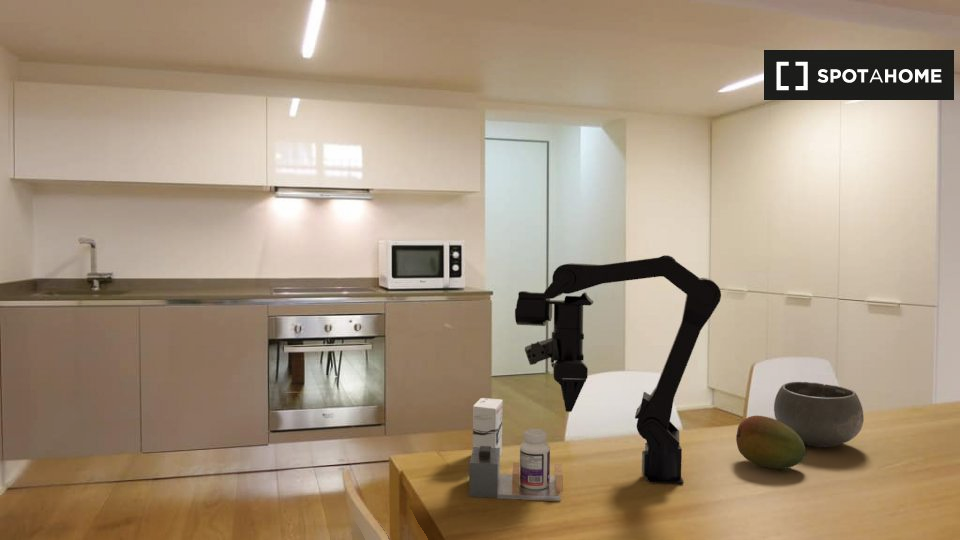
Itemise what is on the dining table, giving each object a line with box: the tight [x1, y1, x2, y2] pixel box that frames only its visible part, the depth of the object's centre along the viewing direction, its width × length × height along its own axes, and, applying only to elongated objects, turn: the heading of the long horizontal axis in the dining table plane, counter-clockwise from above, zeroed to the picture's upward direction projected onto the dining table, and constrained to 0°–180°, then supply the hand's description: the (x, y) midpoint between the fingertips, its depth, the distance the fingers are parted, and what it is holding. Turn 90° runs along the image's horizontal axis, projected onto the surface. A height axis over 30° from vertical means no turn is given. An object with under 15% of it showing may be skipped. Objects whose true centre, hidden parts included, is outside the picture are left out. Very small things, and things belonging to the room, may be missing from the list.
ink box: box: [472, 397, 504, 456], centre depth 136 cm, size 8×5×12 cm, turn 168°
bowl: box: [773, 381, 864, 448], centre depth 147 cm, size 18×18×13 cm
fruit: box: [735, 415, 806, 470], centre depth 133 cm, size 12×12×10 cm
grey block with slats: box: [468, 446, 564, 502], centre depth 119 cm, size 16×10×7 cm, turn 86°
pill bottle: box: [519, 428, 551, 490], centre depth 119 cm, size 5×5×10 cm
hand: (567, 405), depth 130 cm, fingers open, 9 cm apart
